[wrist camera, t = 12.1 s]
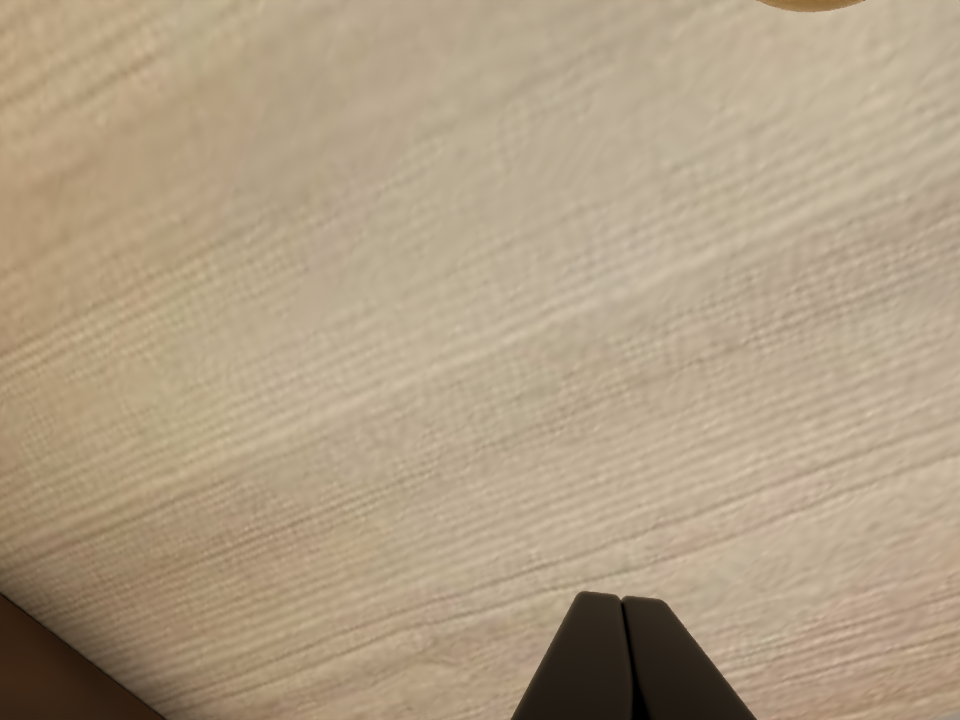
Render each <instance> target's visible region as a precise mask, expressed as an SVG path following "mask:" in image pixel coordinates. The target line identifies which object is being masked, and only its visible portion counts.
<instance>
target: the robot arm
mask: <svg viewBox="0 0 960 720" xmlns="http://www.w3.org/2000/svg"><path fill="white" fill-rule="evenodd" d="M511 720H757V719H756V718H755V717H754V715H753V714H752V713H751V711H750V710H749V709H748V708H747V706H746V705H745V704H744V702H743V701H742V700H741V699H740V697H739V696H738V695H737V693H736V692H735V691H734V690H733V688H732V687H731V686H730V684H729V683H728V682H727V681H726V679H725V678H724V677H723V675H722V674H721V673H720V672H719V670H718V669H717V668H716V666H715V665H714V664H713V663H712V661H711V660H710V659H709V657H708V656H707V655H706V654H705V652H704V651H703V650H702V649H701V647H700V646H699V645H698V643H697V642H696V641H695V640H694V638H693V637H692V636H691V634H690V633H689V632H688V631H687V629H686V628H685V627H684V625H683V624H682V623H681V622H680V620H679V619H678V618H677V616H676V615H675V614H674V613H673V611H672V610H671V609H670V607H669V606H668V605H667V604H666V603H665V602H664V601H662V600H660V599H654V598H645V597H635V596H625V597H624V598H623V599H622V600H620V599H619V597H618V596H616V595H614V594H607V593H598V592H589V591H582V592H580V593H578V594H577V596H576V597H575V599H574V601H573V603H572V605H571V607H570V609H569V610H568V612H567V614H566V616H565V618H564V620H563V622H562V624H561V626H560V627H559V629H558V631H557V633H556V635H555V637H554V639H553V641H552V643H551V644H550V646H549V648H548V650H547V652H546V654H545V656H544V658H543V660H542V661H541V663H540V665H539V667H538V669H537V671H536V673H535V675H534V677H533V678H532V680H531V682H530V684H529V686H528V688H527V690H526V692H525V694H524V695H523V697H522V699H521V701H520V703H519V705H518V707H517V709H516V711H515V712H514V714H513V716H512V718H511Z"/></svg>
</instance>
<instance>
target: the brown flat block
mask: <svg viewBox="0 0 960 720" xmlns="http://www.w3.org/2000/svg"><path fill="white" fill-rule="evenodd" d="M0 720H164V719H163V718H161V717H160V716H159V715H157V714H156V713H155V712H153V711H152V710H151V709H150V708H148V707H147V706H146V705H144V704H143V703H142V702H140V701H139V700H138V699H136V698H135V697H134V696H132V695H131V694H130V693H129V692H127V691H126V690H125V689H123V688H122V687H121V686H119V685H118V684H117V683H115V682H114V681H113V680H112V679H110V678H109V677H108V676H106V675H105V674H104V673H102V672H101V671H100V670H98V669H97V668H96V667H94V666H93V665H92V664H91V663H89V662H88V661H87V660H85V659H84V658H83V657H81V656H80V655H79V654H77V653H76V652H75V651H74V650H72V649H71V648H70V647H68V646H67V645H66V644H64V643H63V642H62V641H60V640H59V639H58V638H56V637H55V636H54V635H53V634H51V633H50V632H49V631H47V630H46V629H45V628H43V627H42V626H41V625H39V624H38V623H37V622H36V621H34V620H33V619H32V618H30V617H29V616H28V615H26V614H25V613H24V612H22V611H21V610H20V609H18V608H17V607H16V606H15V605H13V604H12V603H11V602H9V601H8V600H7V599H5V598H4V597H3V596H1V595H0Z"/></svg>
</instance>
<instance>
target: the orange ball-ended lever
mask: <svg viewBox="0 0 960 720" xmlns="http://www.w3.org/2000/svg"><path fill="white" fill-rule="evenodd" d="M757 1H759V2H762V3H764V4H767V5H769V6H772V7H776V8H780V9H783V10H789V11H796V12H821V11H830V10H835V9H840V8H844V7H848V6H851V5H854V4H857V3H860V2H862V1H865V0H757Z"/></svg>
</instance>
